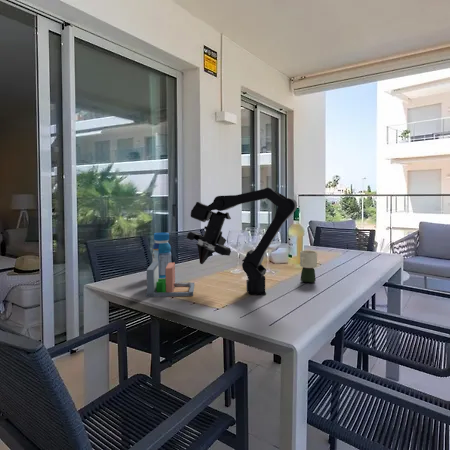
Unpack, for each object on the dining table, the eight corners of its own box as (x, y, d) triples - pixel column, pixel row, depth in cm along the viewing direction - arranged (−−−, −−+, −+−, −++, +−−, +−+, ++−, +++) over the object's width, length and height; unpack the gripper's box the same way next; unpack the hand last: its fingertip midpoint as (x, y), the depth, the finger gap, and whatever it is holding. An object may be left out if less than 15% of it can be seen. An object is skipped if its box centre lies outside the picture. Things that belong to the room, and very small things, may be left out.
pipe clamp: (159, 288, 145) (159, 277, 144) (168, 288, 145) (168, 276, 144) (155, 296, 133) (155, 283, 133) (165, 295, 134) (165, 283, 133)
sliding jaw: (191, 285, 146) (191, 262, 145) (189, 293, 135) (189, 268, 134) (169, 286, 145) (168, 262, 144) (165, 294, 134) (165, 268, 134)
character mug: (308, 278, 159) (308, 249, 158) (322, 281, 154) (323, 251, 153) (293, 282, 152) (293, 252, 151) (307, 285, 147) (308, 254, 146)
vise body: (194, 285, 148) (194, 261, 147) (192, 295, 133) (192, 269, 132) (152, 285, 147) (151, 261, 146) (145, 296, 132) (145, 269, 131)
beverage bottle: (167, 280, 156) (167, 234, 154) (149, 279, 158) (148, 234, 156) (174, 275, 165) (173, 232, 163) (157, 274, 166) (156, 231, 164)
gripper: (244, 236, 142) (230, 273, 143) (208, 221, 152) (196, 255, 153) (228, 234, 132) (214, 273, 134) (192, 217, 142) (179, 254, 144)
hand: (201, 263), depth 141 cm, fingers closed
